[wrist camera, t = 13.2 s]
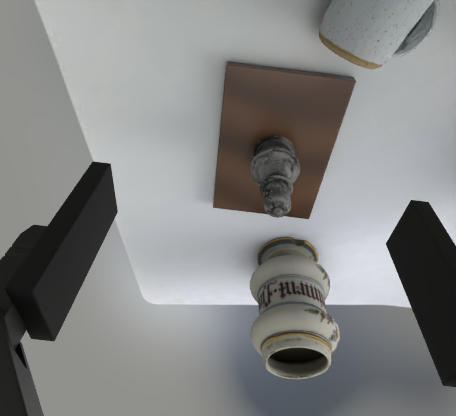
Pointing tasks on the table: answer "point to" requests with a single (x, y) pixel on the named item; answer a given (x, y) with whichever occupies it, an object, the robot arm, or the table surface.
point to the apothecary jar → (292, 310)
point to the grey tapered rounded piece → (275, 173)
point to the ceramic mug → (376, 28)
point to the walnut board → (277, 130)
